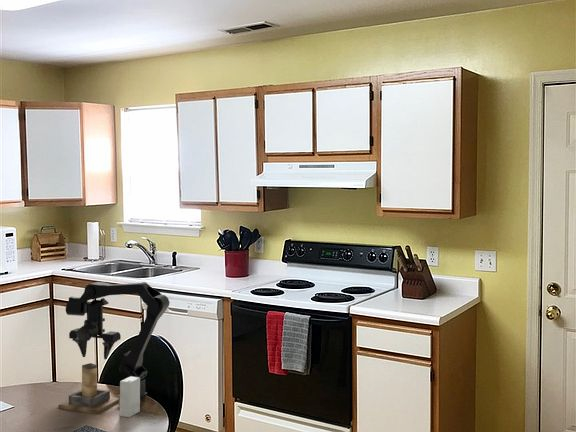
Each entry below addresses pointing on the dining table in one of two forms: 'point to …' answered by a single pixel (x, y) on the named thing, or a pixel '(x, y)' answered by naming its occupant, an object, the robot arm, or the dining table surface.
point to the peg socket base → (90, 402)
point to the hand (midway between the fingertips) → (94, 358)
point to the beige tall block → (89, 380)
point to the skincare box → (129, 396)
